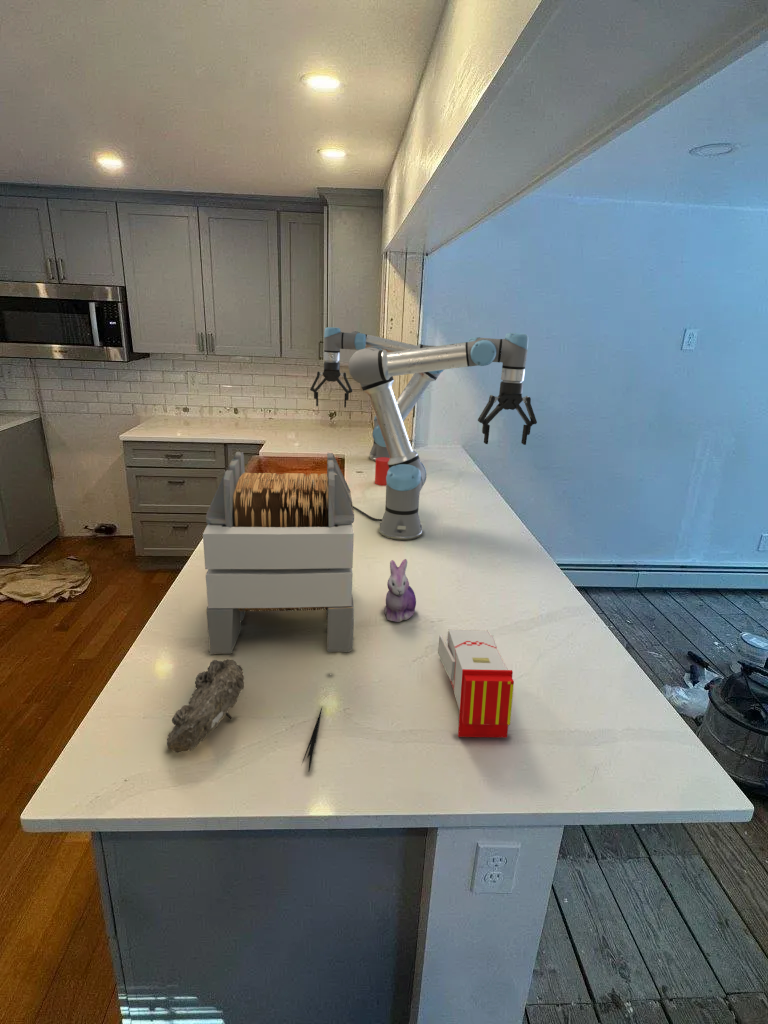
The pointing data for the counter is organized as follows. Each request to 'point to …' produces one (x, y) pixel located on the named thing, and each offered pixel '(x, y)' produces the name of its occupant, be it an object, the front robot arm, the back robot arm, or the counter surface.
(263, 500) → the record crate stand
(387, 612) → the figurine
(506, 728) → the toy
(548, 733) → the counter surface
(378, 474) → the tin
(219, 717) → the fossil
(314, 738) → the feather
